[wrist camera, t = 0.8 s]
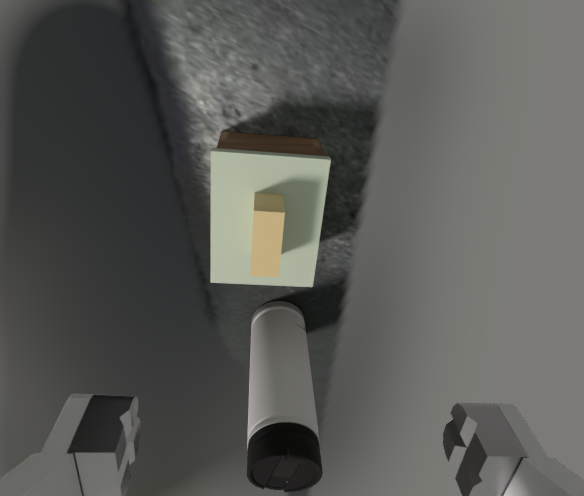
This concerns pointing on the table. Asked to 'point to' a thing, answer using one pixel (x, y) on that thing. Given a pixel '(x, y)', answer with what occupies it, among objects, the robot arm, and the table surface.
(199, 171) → the table surface
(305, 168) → the lid
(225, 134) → the walnut box
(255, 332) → the travel mug
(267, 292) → the table surface
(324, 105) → the table surface
